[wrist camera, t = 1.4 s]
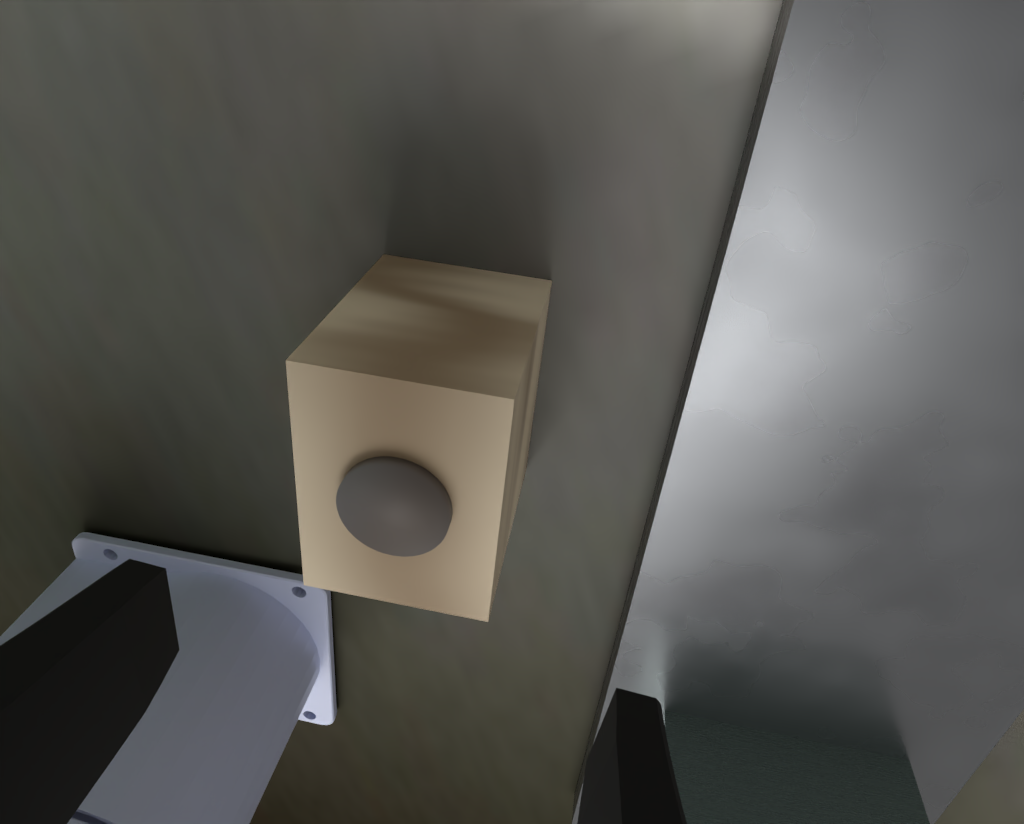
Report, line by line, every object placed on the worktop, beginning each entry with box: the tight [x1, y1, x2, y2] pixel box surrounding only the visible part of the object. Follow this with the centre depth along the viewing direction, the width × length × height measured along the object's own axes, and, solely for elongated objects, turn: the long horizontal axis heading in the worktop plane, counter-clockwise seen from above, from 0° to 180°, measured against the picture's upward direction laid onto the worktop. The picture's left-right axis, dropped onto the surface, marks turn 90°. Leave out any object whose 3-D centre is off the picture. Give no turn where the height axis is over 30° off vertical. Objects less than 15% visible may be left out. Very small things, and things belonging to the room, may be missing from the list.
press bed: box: [572, 0, 1024, 824], centre depth 19 cm, size 12×31×6 cm, turn 175°
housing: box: [286, 254, 552, 622], centre depth 17 cm, size 4×6×6 cm
